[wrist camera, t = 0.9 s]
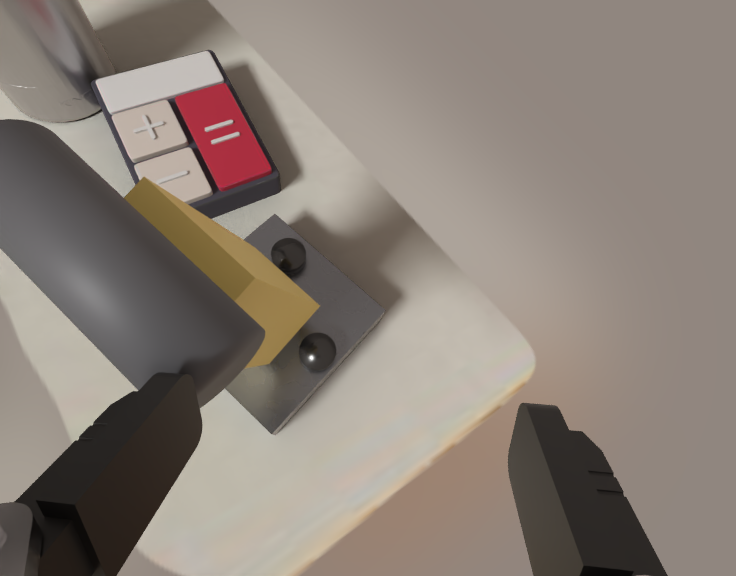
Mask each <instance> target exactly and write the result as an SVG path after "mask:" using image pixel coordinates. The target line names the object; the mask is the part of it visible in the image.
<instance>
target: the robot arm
mask: <svg viewBox="0 0 736 576" xmlns="http://www.w3.org/2000/svg"><path fill="white" fill-rule="evenodd" d="M114 74H116V71H115V69H114V67H113V65H112V63H111V61H110V59H109V57H108V55H107V54H106V52H105V50H104V48H103V46H102V44H101V42H100V40H99V39H98V37H97V35H96V33H95V31H94V29H93V27H92V25H91V23H90V21H89V19H88V18H87V16H86V14H85V12H84V10H83V8H82V6H81V4H80V3H79V1H78V0H0V89H1V90H2V91H3V92H4V93H5V95H6V96H7V97H8V98H9V99H10V100H11V101H12V102H13V104H14V105H15V106H16V107H17V108H18V109H19V110H20V111H21V112H23V113H25V114H26V115H28V116H30V117H32V118H35V119H38V120H42V121H48V122H68V121H75V120H78V119H82V118H85V117H87V116H90V115H92V114H94V113H96V112H97V111H99V110H100V109H101V106H100V104H99V102H98V100H97V97H96V95H95V93H94V91H93V89H92V86H91V82H92V81H93V80H95V79H99V78H103V77H107V76H110V75H114ZM201 433H202V418H201V413H200V408H199V404H198V399H197V394H196V389H195V385H194V381H193V378H192V377H191V376H190V375H188V374H177V373H165V372H158V373H156V374H154V375H153V376H152V377H151V378H150V379H149V380H148V381H147V382H146V383H145V384H144V385H143V386H142V388H141V389H140V390H139V391H138V392H136V391H132V392H131V393H129V394H128V395H126V396H124V397H123V398H121V399H120V400H118V401H116V402H115V403H113V404H111V405H110V406H109V407H108V408H107V409H106V410H105V411H104V412H103V413H102V414H101V415H100V416H99V417H98V418H97V419H96V420H95V421H94V424H93V426H89V427H88V428H87V429H86V430H85V431H84V432H83V433H82V434H81V435H80V436H79V440H78V441H76V440H75V441H74V442H73V443H72V445H71V446H70V447H69V448H68V449H67V450H66V451H65V452H64V453H63V454H62V455H61V456H60V457H59V458H58V459H57V460H56V461H55V462H54V463H53V464H52V465H51V466H50V467H49V468H48V469H47V470H46V471H45V472H44V473H43V474H42V475H41V476H40V477H39V478H38V479H37V480H36V481H35V482H34V483H33V484H32V485H31V486H30V487H29V488H28V489H27V490H26V491H25V492H24V493H23V494H22V495H21V496H20V497H19V498H18V499H17V500H16V501H15V502H10V503H2V504H0V576H117V574H118V572H119V571H120V569H121V567H122V566H123V564H124V563H125V561H126V559H127V558H128V556H129V555H130V553H131V551H132V550H133V548H134V547H135V545H136V544H137V542H138V540H139V539H140V537H141V536H142V534H143V532H144V531H145V529H146V527H147V526H148V524H149V523H150V521H151V519H152V518H153V516H154V515H155V513H156V511H157V510H158V508H159V507H160V505H161V503H162V502H163V500H164V499H165V497H166V495H167V494H168V492H169V491H170V489H171V487H172V486H173V484H174V483H175V481H176V479H177V478H178V476H179V475H180V473H181V471H182V470H183V468H184V467H185V465H186V463H187V462H188V460H189V459H190V457H191V455H192V454H193V452H194V451H195V449H196V447H197V445H198V443H199V441H200V437H201ZM508 469H509V470H508V471H509V478H510V482H511V486H512V490H513V494H514V499H515V503H516V507H517V511H518V515H519V519H520V523H521V527H522V531H523V535H524V539H525V543H526V547H527V551H528V555H529V559H530V563H531V567H532V571H533V575H534V576H668V575H667V574H666V572H665V570H664V568H663V566H662V564H661V562H660V560H659V559H658V557H657V555H656V553H655V551H654V549H653V547H652V545H651V543H650V542H649V539H648V538H647V536H646V534H645V532H644V530H643V528H642V526H641V524H640V523H639V521H638V519H637V517H636V515H635V513H634V511H633V509H632V507H631V505H630V503H629V501H628V500H627V498H626V497H624V495H623V490H622V488H621V486H620V484H619V482H618V481H617V479H616V478H615V477H614V476H613V471H612V469H611V467H610V466H609V464H608V462H607V460H606V458H605V456H604V454H603V452H602V451H601V450H600V449H599V448H598V447H597V446H596V445H595V444H594V443H593V442H592V441H591V440H590V439H589V438H588V437H587V436H586V435H585V434H584V433H583V432H581V431H571V430H569V429H568V427H567V425H566V423H565V420H564V419H563V416H562V414H561V412H560V410H559V408H558V407H557V406H554V405H542V404H530V403H522V404H520V406H519V409H518V413H517V417H516V421H515V426H514V430H513V435H512V439H511V444H510V448H509V455H508Z"/></svg>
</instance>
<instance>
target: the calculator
mask: <svg viewBox="0 0 736 576" xmlns="http://www.w3.org/2000/svg"><path fill="white" fill-rule="evenodd" d="M91 86H92V89H93V91H94V93H95V95H96V97H97V100H98V102H99V104H100V106H101V109H102V111H103V113H104V115H105V118H106V120H107V122H108V124H109V127H110V129H111V131H112V133H113V135H114V138H115V140H116V142H117V144H118V147H119V149H120V151H121V153H122V156H123V158H124V160H125V162H126V165H127V167H128V169H129V171H130V173H131V176H132V178H133V180H134V182H135V185H136V184H137V183H138V182H139V181H140V180H141V179H142V178H143V177H146V178H147V179H149V180H150V181H152V182H153V183H155V184H157V185H158V186H160V187H161V188H163V189H164V190H166V191H168V192H169V193H171V194H172V195H174V196H175V197H177V198H179V199H180V200H182V201H183V202H185V203H186V204H188V205H189V206H191V207H193V208H194V209H196V210H197V211H199V212H200V213H202V214H204V215H205V216H207V217H208V218H210V219H212V218H214V217H217V216H220V215H222V214H225V213H227V212H230V211H233V210H235V209H238V208H241V207H243V206H246V205H248V204H251V203H254V202H256V201H259V200H262V199H264V198H267V197H270V196H272V195H275V194H277V193H279V192H280V191H281V186H280V176H279V172H278V170H277V168H276V166H275V164H274V163H273V161H272V159H271V157H270V155H269V153H268V151H267V150H266V148H265V146H264V144H263V142H262V140H261V138H260V137H259V135H258V133H257V131H256V129H255V127H254V125H253V124H252V122H251V120H250V118H249V116H248V114H247V113H246V111H245V109H244V107H243V105H242V103H241V101H240V100H239V98H238V96H237V94H236V92H235V90H234V88H233V87H232V85H231V83H230V81H229V79H228V77H227V75H226V74H225V72H224V70H223V68H222V66H221V64H220V62H219V61H218V59H217V57H216V55H215V53H214V52H213V51H211V50H206V51H202V52H198V53H195V54H191V55H187V56H183V57H179V58H175V59H172V60H168V61H164V62H160V63H156V64H152V65H149V66H145V67H141V68H137V69H133V70H130V71H126V72H122V73H118V74H114V75H110V76H107V77H103V78H99V79H95V80H93V81H92V82H91Z"/></svg>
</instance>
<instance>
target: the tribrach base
mask: <svg viewBox="0 0 736 576" xmlns="http://www.w3.org/2000/svg"><path fill="white" fill-rule="evenodd" d="M244 241H246V242H247V243H249V244H250V245H252V246H254V247H255V248H256V249H257V250H259V251H260V252H261V253H262V254H263V255H264V256H265V257H266V258H267V259H269V260H270V261H271V262H272V263H273V264H274V265H275V266H276V267H277V268H279V269H280V270H281V271H282V272H283V273H284V274H285V275H286V276H288V277H289V278H290V279H291V280H292V281H293V282H294V283H295V284H296V285H298V286H299V287H300V288H301V289H302V290H303V291H304V292H305V293H306V294H308V295H309V296H310V297H311V298H312V299H313V300H314V301H315V302H316V303H318V304H319V305H320V307H319V308H318V309H317V310H316V311H315V313H314V314H313V315H312V316H311V317H310V318H309V319H308V320H307V322H306V323H305V324H304V325H303V326H302V327H301V328H300V330H299V331H298V332H297V333H296V334H295V335H294V336H293V337H292V339H291V340H290V341H289V342H288V343H287V344H286V345H285V346H284V348H283V349H282V350H281V351H280V352H279V353H278V354H277V356H276V357H275V358H274V359H273V360H272V361H271V362H270V363H269V364H267V365H261V366H256V367H250V368H244V369H243V370H242V371H241V372H240V373H239V375H238V376H237V377H236V378H235V379H234V380H233V381H232V382H231V383H230V384H229V385H228V386H226V387H225V389H226V390H227V391H228V392H229V393H230V394H231V395H232V396H233V397H234V398H235V399H236V400H237V401H238V402H239V403H240V404H241V405H242V406H243V407H244V408H245V409H246V410H247V411H248V412H250V413H251V414H252V415H253V416H254V417H255V418H256V419H257V420H258V421H259V422H260V423H261V424H262V425H263V426H264V427H265V428H266V429H267V430H268V431H269V432H270V433H271V434H273V435H276V434H277V433H278V432H279V431H280V430H281V428H282V427H283V426H284V425H285V424H286V423H287V422H288V421H289V420H290V419H291V417H292V416H293V415H294V414H295V413H296V412H297V411H298V410H299V409H300V408H301V407H302V405H303V404H304V403H305V402H306V401H307V400H308V399H309V398H310V397H311V396H312V394H313V393H314V392H315V391H316V390H317V389H318V388H319V387H320V386H321V385H322V384H323V382H324V381H325V380H326V379H327V378H328V377H329V376H330V375H331V374H332V373H333V372H334V370H335V369H336V368H337V367H338V366H339V365H340V364H341V363H342V362H343V361H344V359H345V358H346V357H347V356H348V355H349V354H350V353H351V352H352V351H353V350H354V349H355V347H356V346H357V345H358V344H359V343H360V342H361V341H362V340H363V339H364V338H365V336H366V335H367V334H368V333H369V332H370V331H371V330H372V329H373V328H374V327H375V326H376V324H377V323H378V322H379V321H380V320H381V318H382V316H383V314H384V312H385V311H386V310H385V309H384V308H382V307H381V306H380V305H379V304H378V303H377V302H376V301H374V300H373V299H372V298H371V297H370V296H369V295H368V294H366V293H365V292H364V291H363V290H362V289H361V288H360V287H358V286H357V285H356V284H355V283H354V282H353V281H351V280H350V279H349V278H348V277H347V276H346V275H345V274H343V273H342V272H341V271H340V270H339V269H338V268H337V267H335V266H334V265H333V264H332V263H331V262H330V261H329V260H327V259H326V258H325V257H324V256H323V255H322V254H321V253H319V252H318V251H317V250H316V249H315V248H314V247H313V246H311V245H310V244H309V243H308V242H307V241H306V240H304V239H303V238H302V237H301V236H300V235H299V234H298V233H296V232H295V231H294V230H293V229H292V228H291V227H290V226H288V225H287V224H286V223H285V222H284V221H283V220H282V219H280V218H279V217H278V216H277V215H276V214H274V215H273V216H271V217H270V218H269V219H268V220H267V221H265V222H264V223H263V224H262V225H261V226H259V227H258V228H257V229H256V230H255V231H253V232H252V233H251V234H250V235H249V236H248V237H246V238H245V239H244Z"/></svg>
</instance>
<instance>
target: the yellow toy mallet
mask: <svg viewBox="0 0 736 576" xmlns="http://www.w3.org/2000/svg"><path fill="white" fill-rule="evenodd" d="M0 248H1V250H2V251H3V252H4V253H5V254H6V255H7V256H8V257H9V258H10V259H11V260H12V261H13V262H14V263H15V264H16V265H17V266H18V267H19V268H20V269H21V270H22V271H23V272H24V273H25V274H26V275H27V276H28V277H29V278H30V279H31V280H32V281H33V282H34V283H35V284H36V286H37V287H38V288H39V289H40V290H41V291H42V292H43V293H44V294H45V295H46V296H47V297H48V298H49V299H50V300H51V301H52V302H53V303H54V304H55V305H56V306H57V307H58V308H59V309H60V310H61V311H62V312H63V313H64V314H65V315H66V316H67V317H68V318H69V319H70V320H71V322H72V323H73V324H74V325H75V326H76V327H77V328H78V329H79V330H80V331H81V332H82V333H83V334H84V335H85V336H86V337H87V338H88V339H89V340H90V341H91V342H92V343H93V344H94V345H95V346H96V347H97V348H98V349H99V350H100V351H101V352H102V353H103V354H104V355H105V357H106V358H107V359H108V360H109V361H110V362H111V363H112V364H113V365H114V366H115V367H116V368H117V369H118V370H119V371H120V372H121V373H122V374H123V375H124V376H125V377H126V378H127V379H128V380H129V381H130V382H131V383H132V384H133V385H134V386H135V387H136V388H137V389H138V390H140V389H141V388H142V386H143V385H144V384H145V383H146V382H147V381H148V380H149V379H150V378H151V377H152V376H153V375H154V374H156V373H158V372H165V373H177V374H188V375H190V376H191V377H192V378H193V381H194V385H195V389H196V394H197V399H198V404H199V408H201V407H202V406H204V405H205V404H206V403H208V402H209V401H210V400H211V399H213V398H214V397H215V396H216V395H218V394H219V393H220V392H221V391H222V390H223V389H224V388H225V387H226V386H228V385H229V384H230V383H231V382H232V381H233V380H234V379H235V378H236V377H237V376H238V375H239V373H240V372H241V371H242V370H243V369H244V368H250V367H256V366H261V365H267V364H269V363H270V362H271V361H272V360H273V359H274V358H275V357H276V356H277V354H278V353H279V352H280V351H281V350H282V349H283V348H284V346H285V345H286V344H287V343H288V342H289V341H290V340H291V339H292V337H293V336H294V335H295V334H296V333H297V332H298V331H299V330H300V328H301V327H302V326H303V325H304V324H305V323H306V322H307V320H308V319H309V318H310V317H311V316H312V315H313V314H314V313H315V311H316V310H317V309H318V308H319V307H320V305H319V304H318V303H316V302H315V301H314V300H313V299H312V298H311V297H310V296H309V295H308V294H306V293H305V292H304V291H303V290H302V289H301V288H300V287H299V286H298V285H296V284H295V283H294V282H293V281H292V280H291V279H290V278H289V277H288V276H286V275H285V274H284V273H283V272H282V271H281V270H280V269H279V268H277V267H276V266H275V265H274V264H273V263H272V262H271V261H270V260H269V259H267V258H266V257H265V256H264V255H263V254H262V253H261V252H260V251H259V250H257V249H256V248H255V247H254V246H252V245H250V244H249V243H247V242H246V241H244V240H243V239H241V238H240V237H238V236H236V235H235V234H233V233H232V232H230V231H229V230H227V229H225V228H224V227H222V226H221V225H219V224H218V223H216V222H214V221H213V220H211V219H210V218H208V217H207V216H205V215H204V214H202V213H200V212H199V211H197V210H196V209H194V208H193V207H191V206H189V205H188V204H186V203H185V202H183V201H182V200H180V199H179V198H177V197H175V196H174V195H172V194H171V193H169V192H168V191H166V190H164V189H163V188H161V187H160V186H158V185H157V184H155V183H153V182H152V181H150V180H149V179H147V178H146V177H143V178H142V179H141V180H140V181H139V182H138V183H137V184H136V185H135V187H134V188H133V189H132V190H131V191H130V192H129V193H128V194H127V195H126V196H125V197H124V198H123V197H122V196H121V195H120V194H119V193H118V192H117V191H116V190H115V189H114V188H112V187H111V186H110V185H109V184H108V183H107V182H106V181H105V180H104V179H103V178H102V177H101V176H100V175H99V174H97V173H96V172H95V171H94V170H93V169H92V168H91V167H90V166H89V165H88V164H87V163H86V162H85V161H84V160H82V159H81V158H80V157H79V156H78V155H77V154H76V153H75V152H74V151H73V150H72V149H71V148H70V147H69V146H68V145H66V144H65V143H64V142H63V141H62V140H61V139H60V138H59V137H58V136H57V135H56V134H55V133H53V132H52V131H51V130H49V129H47V128H45V127H44V126H42V125H39V124H36V123H33V122H29V121H24V120H13V119H7V120H0Z"/></svg>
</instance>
